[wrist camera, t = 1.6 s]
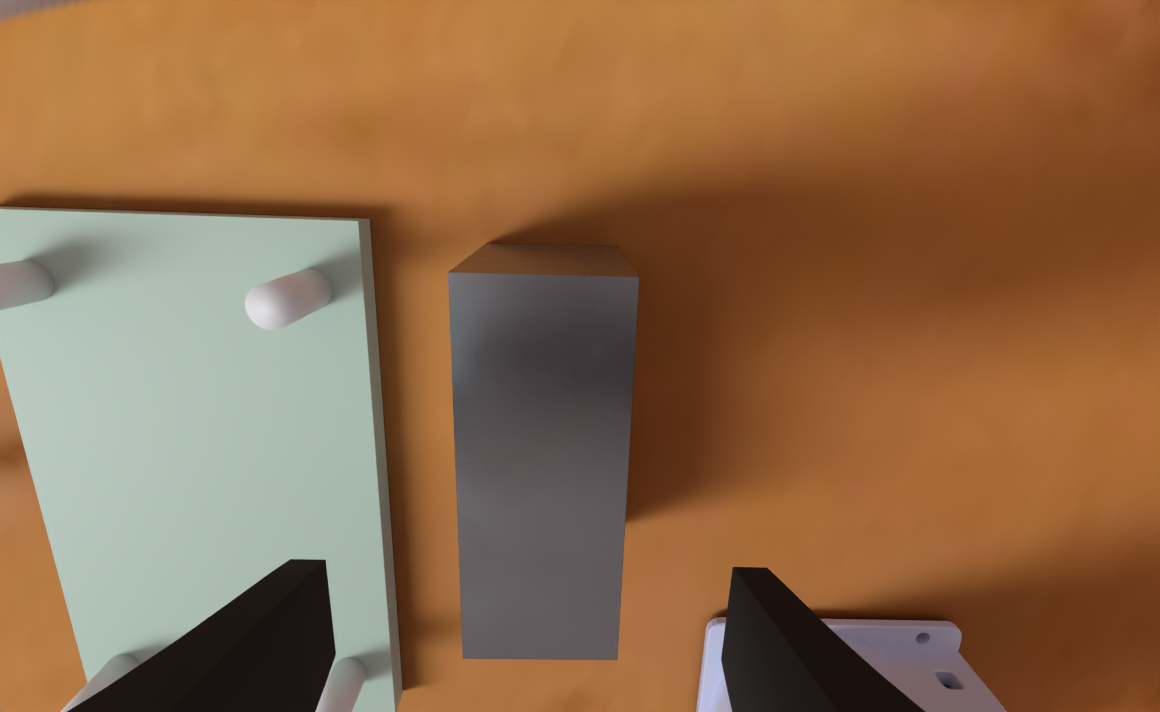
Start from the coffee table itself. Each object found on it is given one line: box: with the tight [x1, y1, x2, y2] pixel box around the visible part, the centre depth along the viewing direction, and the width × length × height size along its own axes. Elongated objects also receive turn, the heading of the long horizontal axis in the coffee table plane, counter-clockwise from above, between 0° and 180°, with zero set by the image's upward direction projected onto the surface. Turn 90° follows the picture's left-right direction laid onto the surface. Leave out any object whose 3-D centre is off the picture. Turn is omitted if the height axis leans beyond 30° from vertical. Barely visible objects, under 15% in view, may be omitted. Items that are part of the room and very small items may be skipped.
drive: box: [448, 243, 639, 660], centre depth 16 cm, size 4×10×6 cm, turn 178°
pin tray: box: [0, 206, 403, 712], centre depth 18 cm, size 11×18×4 cm, turn 178°
